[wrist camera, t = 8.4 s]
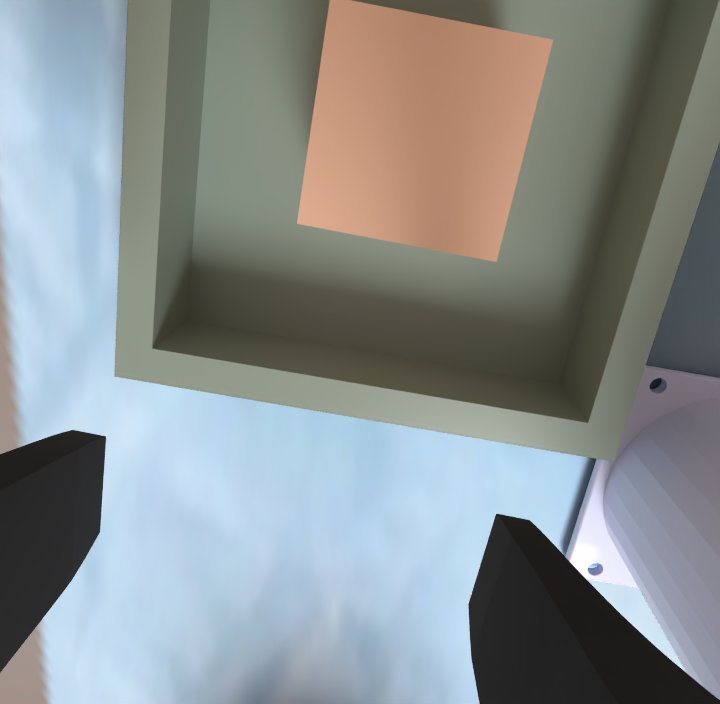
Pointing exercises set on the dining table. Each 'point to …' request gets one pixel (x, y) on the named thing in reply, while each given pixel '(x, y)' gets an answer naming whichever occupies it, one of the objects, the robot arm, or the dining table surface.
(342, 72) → the clay block
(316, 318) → the olive bin
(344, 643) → the dining table surface
